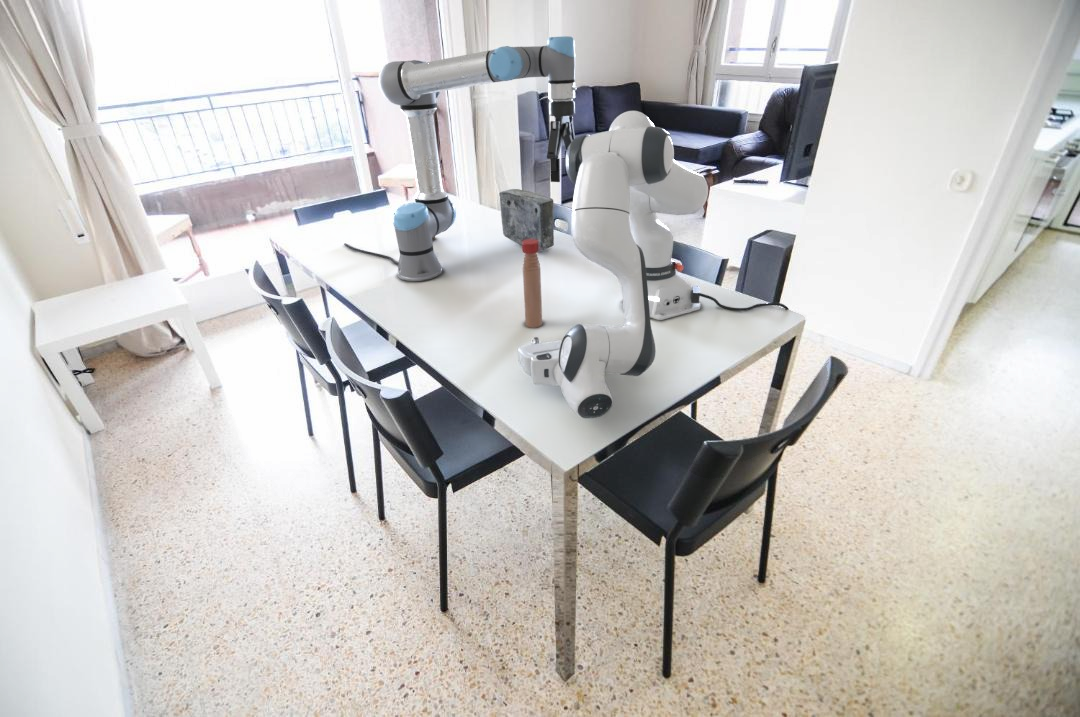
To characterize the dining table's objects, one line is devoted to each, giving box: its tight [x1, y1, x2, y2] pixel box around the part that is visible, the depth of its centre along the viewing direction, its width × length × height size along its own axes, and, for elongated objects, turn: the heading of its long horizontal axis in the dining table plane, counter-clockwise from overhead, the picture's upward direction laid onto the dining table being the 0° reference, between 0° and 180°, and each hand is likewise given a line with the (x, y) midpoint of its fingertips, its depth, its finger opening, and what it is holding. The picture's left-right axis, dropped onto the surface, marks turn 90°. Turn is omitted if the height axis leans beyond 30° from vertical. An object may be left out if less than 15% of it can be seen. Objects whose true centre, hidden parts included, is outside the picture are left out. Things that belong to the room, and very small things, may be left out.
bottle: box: [522, 253, 543, 329], centre depth 134 cm, size 5×5×24 cm
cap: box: [521, 239, 540, 254], centre depth 129 cm, size 4×4×3 cm
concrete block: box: [498, 188, 555, 252], centre depth 192 cm, size 27×9×20 cm, turn 36°
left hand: (562, 177), depth 154 cm, fingers open, 13 cm apart
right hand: (553, 337), depth 120 cm, fingers open, 8 cm apart
